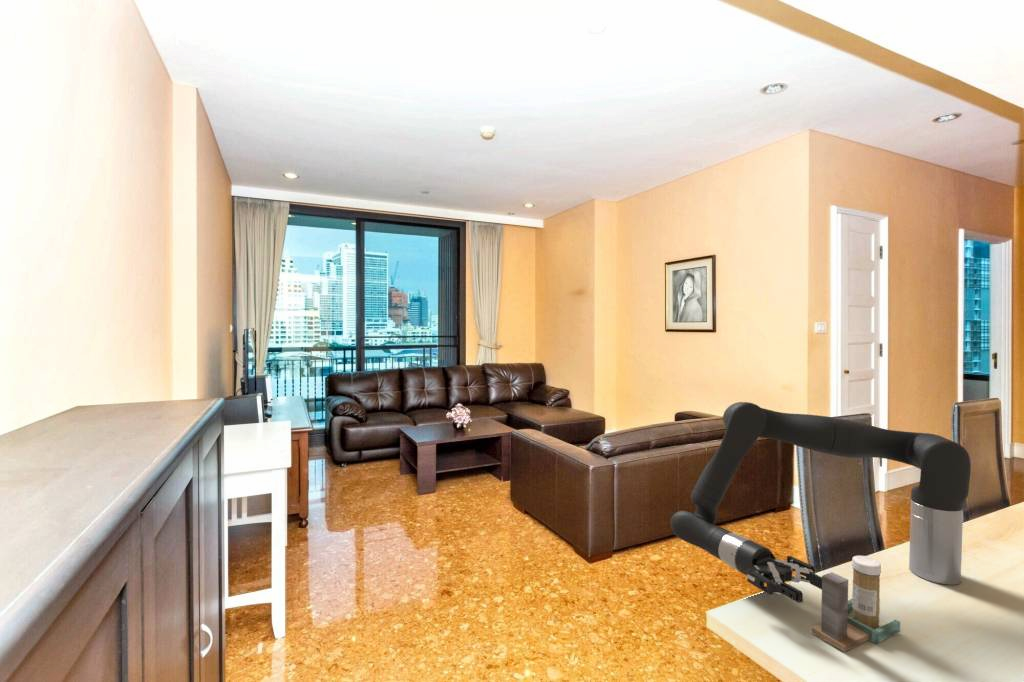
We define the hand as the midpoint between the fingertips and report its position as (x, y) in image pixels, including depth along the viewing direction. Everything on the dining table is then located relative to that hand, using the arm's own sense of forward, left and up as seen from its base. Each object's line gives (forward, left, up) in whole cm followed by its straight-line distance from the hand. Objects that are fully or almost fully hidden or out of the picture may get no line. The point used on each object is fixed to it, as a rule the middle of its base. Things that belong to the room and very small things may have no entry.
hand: (815, 592), depth 93 cm
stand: (-6, +4, -7) cm, 10 cm away
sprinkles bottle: (-10, +4, -8) cm, 13 cm away
